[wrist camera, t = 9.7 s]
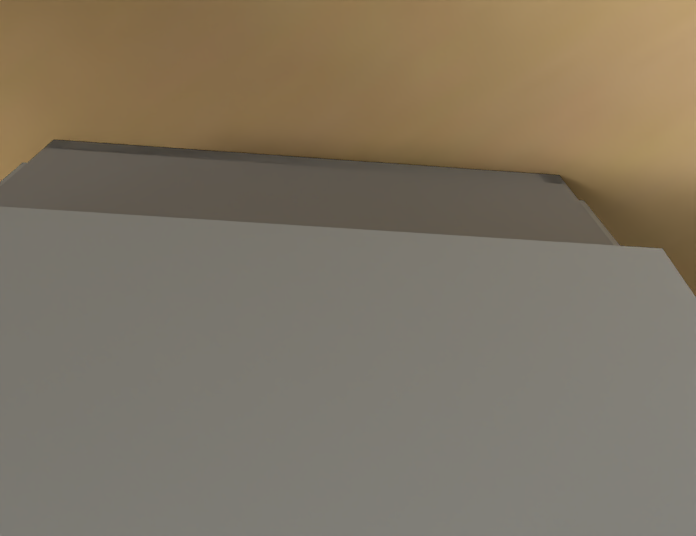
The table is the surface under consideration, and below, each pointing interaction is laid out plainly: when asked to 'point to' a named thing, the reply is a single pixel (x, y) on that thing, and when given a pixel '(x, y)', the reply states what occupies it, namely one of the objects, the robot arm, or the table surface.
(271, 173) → the carton
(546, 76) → the table surface
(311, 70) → the table surface
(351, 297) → the flap
